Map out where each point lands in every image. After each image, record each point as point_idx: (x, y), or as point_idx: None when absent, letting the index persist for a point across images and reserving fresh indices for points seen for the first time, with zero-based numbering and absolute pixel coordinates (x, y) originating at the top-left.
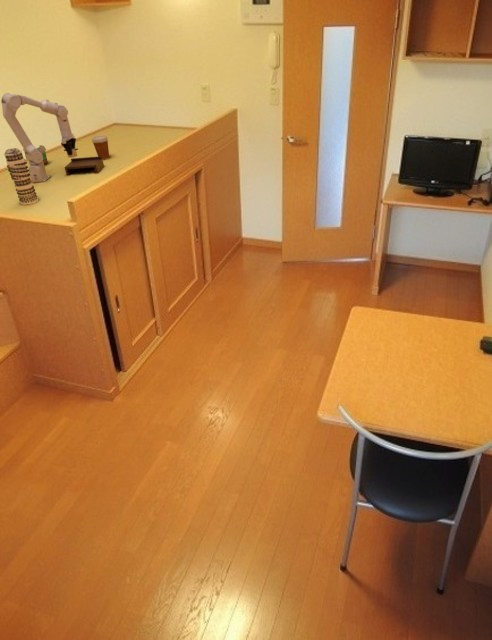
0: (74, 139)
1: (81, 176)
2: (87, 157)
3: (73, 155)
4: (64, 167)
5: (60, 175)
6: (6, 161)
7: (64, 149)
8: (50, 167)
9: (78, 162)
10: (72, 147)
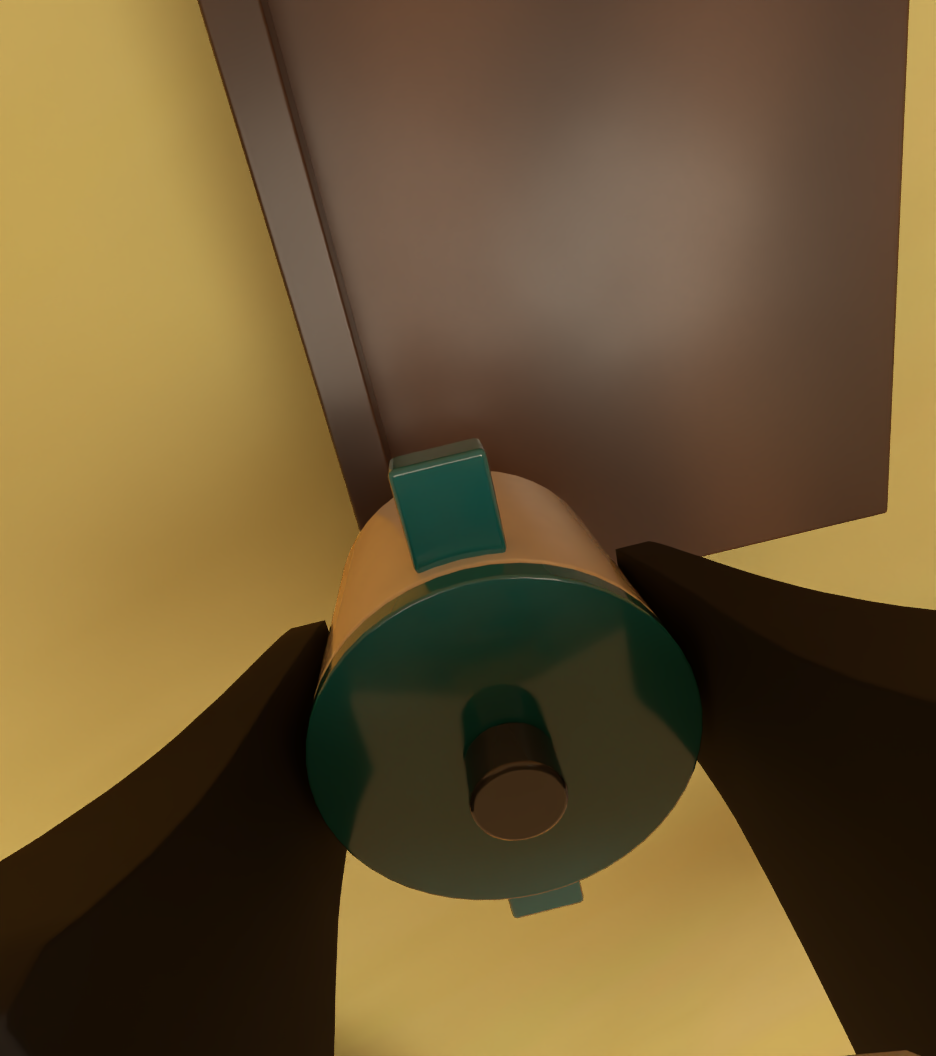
0: (56, 1000)
1: (922, 89)
2: (284, 202)
3: (579, 520)
4: (885, 509)
5: (766, 575)
6: None
7: (527, 911)
8: (364, 933)
9: (557, 367)
10: (434, 713)
